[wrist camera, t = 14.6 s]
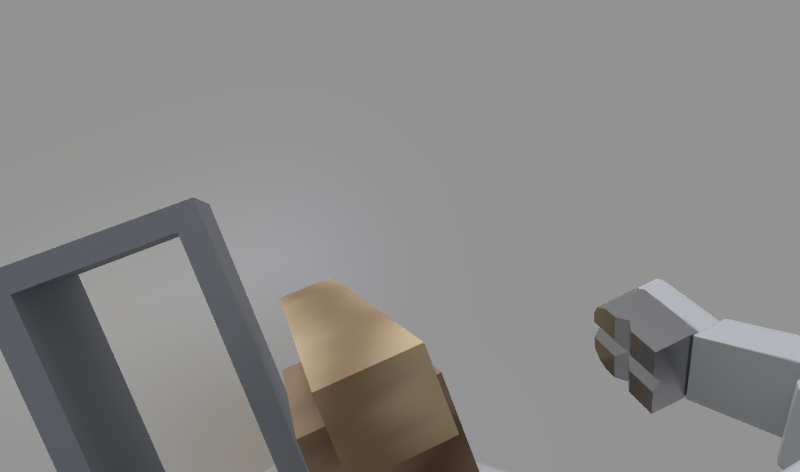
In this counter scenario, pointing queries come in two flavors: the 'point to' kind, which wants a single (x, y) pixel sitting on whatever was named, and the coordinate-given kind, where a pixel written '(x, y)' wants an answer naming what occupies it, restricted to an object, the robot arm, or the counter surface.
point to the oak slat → (367, 378)
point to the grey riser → (93, 359)
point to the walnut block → (434, 468)
